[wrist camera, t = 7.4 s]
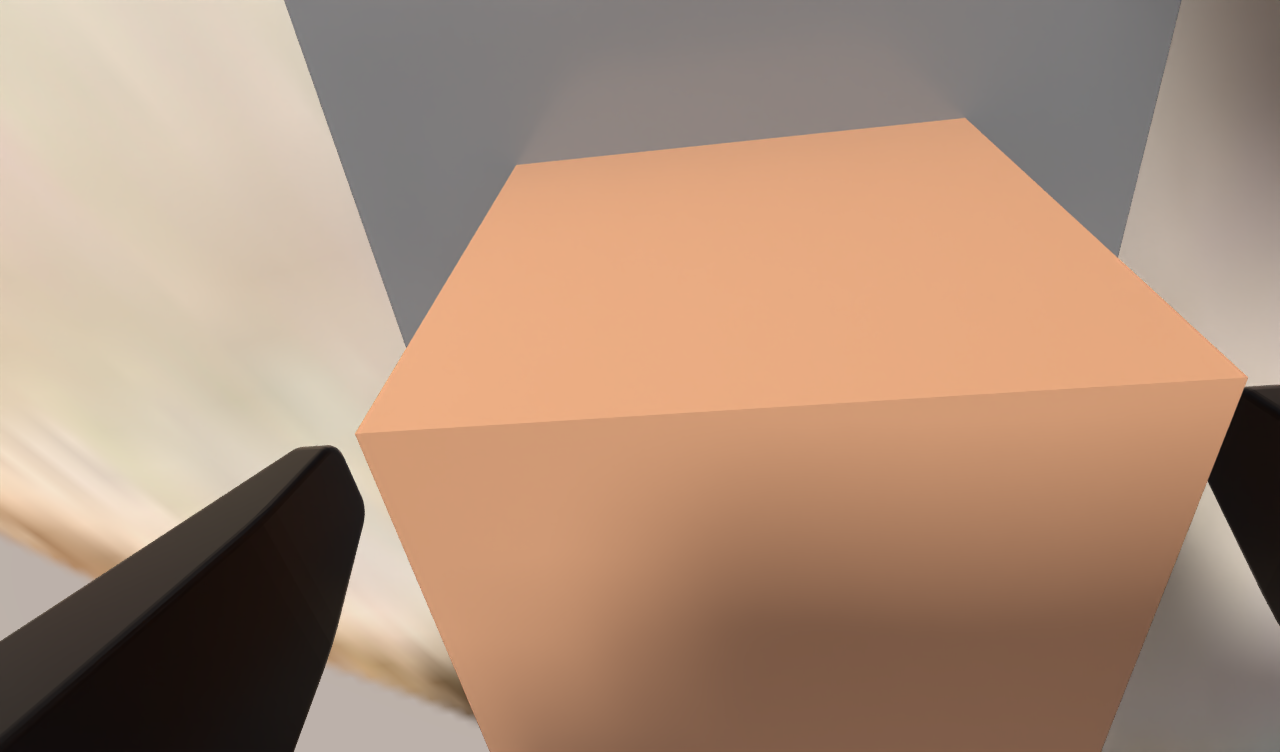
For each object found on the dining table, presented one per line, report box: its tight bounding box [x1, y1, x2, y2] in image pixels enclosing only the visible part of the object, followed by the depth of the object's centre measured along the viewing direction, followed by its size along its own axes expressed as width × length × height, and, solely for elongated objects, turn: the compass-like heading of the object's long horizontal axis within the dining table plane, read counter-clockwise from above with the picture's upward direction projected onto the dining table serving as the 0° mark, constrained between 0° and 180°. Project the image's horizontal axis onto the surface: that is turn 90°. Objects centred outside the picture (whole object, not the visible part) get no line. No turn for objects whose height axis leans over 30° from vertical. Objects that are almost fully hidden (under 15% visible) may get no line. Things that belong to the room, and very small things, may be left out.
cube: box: [355, 118, 1248, 752], centre depth 8 cm, size 5×5×5 cm
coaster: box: [284, 0, 1181, 348], centre depth 10 cm, size 9×9×1 cm
